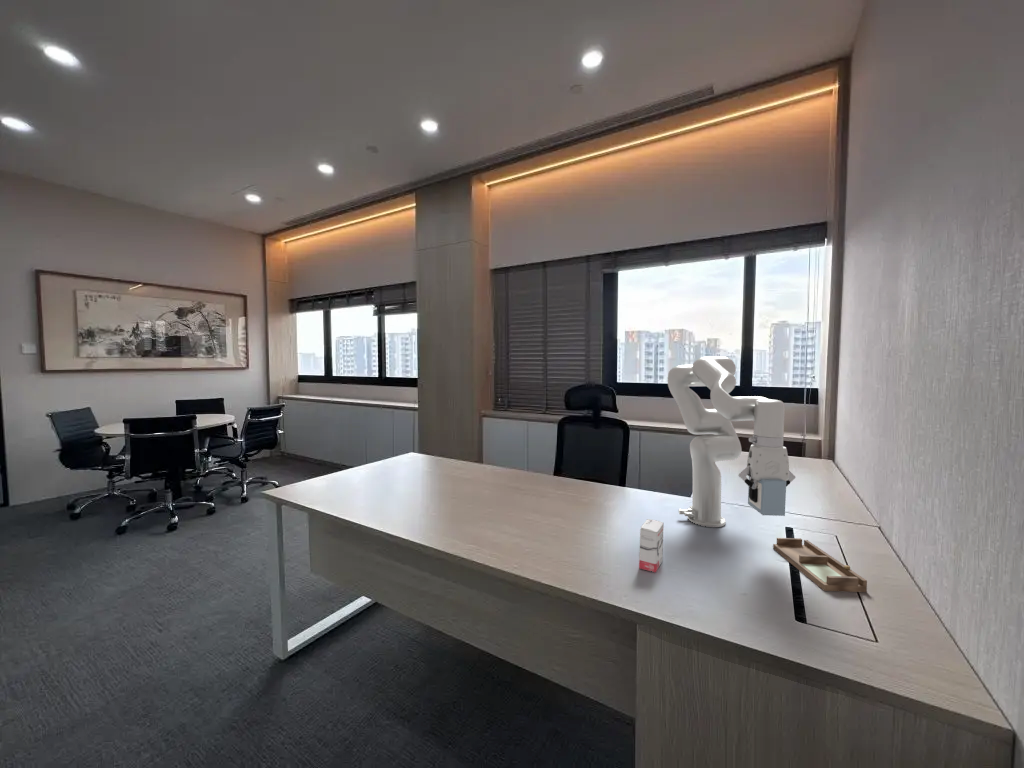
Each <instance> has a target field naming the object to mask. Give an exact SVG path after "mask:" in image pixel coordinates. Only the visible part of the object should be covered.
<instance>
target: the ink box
mask: <svg viewBox="0 0 1024 768" xmlns="http://www.w3.org/2000/svg"><path fill="white" fill-rule="evenodd" d="M664 527H665V526H664V522H663V521H660V520H655V519H646V520H645V521H644V523H643V524H642V525H641V526H640V529H639V536H640V537H639V555H638V556H639V558H638V559H639V560H638V569H640V570H643V571H648V572H651V571H652V572H651V573H654V574H656V573H657V571H658V570H659V567H660V565H661V564H662V563H663V558H664V557H663V553H664V552H663V550H664Z"/></svg>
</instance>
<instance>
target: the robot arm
mask: <svg viewBox="0 0 1024 768" xmlns="http://www.w3.org/2000/svg"><path fill="white" fill-rule="evenodd" d="M736 368H737V367H736V364H735V362H734V361H733V360H732V359H731V358H729V357H727V356H702V357H699V358H697V359H696V360H695V361H694V362H692V364H681V365H677V366H674V367H672V368H671V369H670V370H669V371H668V374H667V387H668V389H669V391H670V394H671V396H672V397H673V399H674V401H675V402H676V404H677V407H678V409H679V412H680V415H681V417H682V420H683V423H684V425H685V427H686V430H687V432H688V433H690V434H692V435H697V436H695V437H694V438H692V440H690V443H689V452H690V457H691V464H692V500H691V501H692V504H691V505H690V506H689V508H687V509H686V508H685V509H684V508H679V509H678V514H679V515H684V516H685V517H687V519H689V520H690V521H691V522H690V521H689V520H688V521H689V522H690V523H692V522H693V523H692V524H694V523H695V525H697V524H698V526H700V525H701V527H705V526H706V528H721V527H724V526H726V523H727V521H726V518H724V517H723V516H722V473H721V470H720V469H719V467H718V466H717V464H716V462H728V461H730V462H731V461H735V460H738V459H739V458H740V457H741V455H742V444H741V441H740V439H739V436H738V434H737V432H736V430H735V428H734V424H733V423H732V422H741V421H742V422H744V421H745V422H746V421H750V422H751V421H752V422H753V434H752V436H751V437H748V442H749V443H752V444H751V445H750V447H749V451H748V455H747V462H746V467H745V468H744V469H743V470H741V471H740V473H739V474H738V477H739V478H740V479H741V480H742V481H743V483H745V484H746V485H747V486H748V487H749V498H750V499H751V500H752V501H753V502H755V503H757V498H758V490H757V489H756V487H757V485H758V481H761V479H767V480H784V481H786V488H787V487H788V486H789V485H790V484H791V482H793V481H794V480H795V479H796V475H795V474H793V473H792V472H791V470H790V464H789V463H790V462H789V455H788V454H789V453H788V449H787V447H786V446H784V434H785V411H786V409H785V408H786V407H785V403H784V402H783V401H782V400H780V399H779V400H778V399H771V398H767V397H764V396H761V395H760V396H758V395H757V396H756V395H754V396H752V395H751V396H749V395H748V396H741V395H740V396H732V395H730V394H731V392H732V391H733V390H734V389H735V388H736V384H737V379H736V376H735V374H736V370H737V369H736ZM690 387H707V388H708V389H709V390H710V395H709V397H710V402H711V404H712V407H713V408H706V407H705V406H704V404H703V402H702V399H701V397H700V396H699V395H698V393H696V392H695V391H694V390H693V389H692V388H690ZM747 476H748V477H749V476H750V477H751V478H750V480H749V478H748V477H747Z"/></svg>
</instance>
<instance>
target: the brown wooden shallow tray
mask: <svg viewBox="0 0 1024 768" xmlns="http://www.w3.org/2000/svg"><path fill="white" fill-rule="evenodd" d="M772 547H773V548H772V549H773V550H774V551H775V552H777V553H778V554H779V555H780V556H782V557H783V558H784V559H785V560H786V561H787V562H789V564H790V565H792V566H793V567H795V568H796V569H797V570H798V571H800V572H801V573H802V574H803V575H804V576H806V578H808V579H810V580H811V581H812V582H813V583H814V584H815V585H817V586H818V587H819V588H820V589H822V590H823V591H824V592H850V593H867V592H868V591H867V589H868V588H867V587H868V580H867V579H866V578H864V577H863V576H861V575H860V574H859V573H857V572H855V571H853V570H852V569H851V566H850V565H847V564H844V563H842V562H840V561H839V560H837V558H835V557H834V556H832V555H830V554H829V553H827V552H826V551H824V550H823V549H822V548H820V547H818V546H817V545H816V544H814V543H812V542H811V541H809V540H808V539H804V540H803V539H802V538H797V537H796V538H793V537H776V543H773V544H772Z"/></svg>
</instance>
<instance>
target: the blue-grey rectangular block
mask: <svg viewBox="0 0 1024 768" xmlns="http://www.w3.org/2000/svg"><path fill="white" fill-rule="evenodd" d="M750 478H751V477H750V476H748V480H750ZM747 488H748V493H747V494H748V495H747V505H748V506H750V507H751V508H752V509H754V510H756V512H758V513H759V514H761V515H762V516H773V517H775V516H776V517H777V516H778V517H782V516H783V517H785V516H786V501H787V500H786V498H787V487H786V481H784V480H767V479H761V481H758V485H757V487H756V489H757V490H758V498H757V503H755V502H753V501H752V500H751V499H750V498H749V486H748V487H747Z"/></svg>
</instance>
